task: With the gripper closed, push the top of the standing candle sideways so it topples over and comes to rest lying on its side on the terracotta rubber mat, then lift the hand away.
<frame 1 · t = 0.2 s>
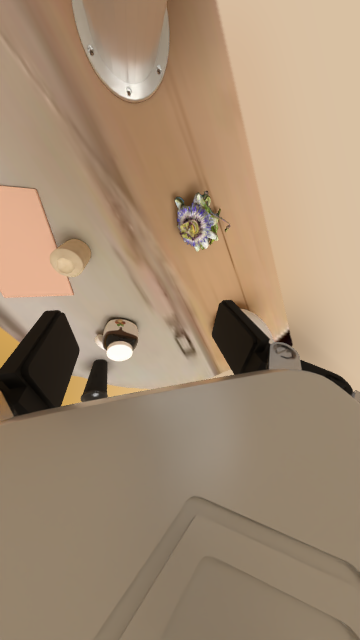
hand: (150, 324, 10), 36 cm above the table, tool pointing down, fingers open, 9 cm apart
passion flower: (195, 219, 39), on the table
drinking cup: (100, 363, 61), on the table
candle: (78, 251, 38), on the table
spread jar: (117, 329, 54), on the table
mat: (19, 250, 35), on the table
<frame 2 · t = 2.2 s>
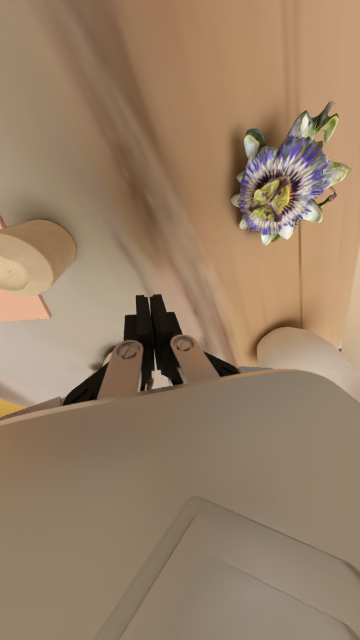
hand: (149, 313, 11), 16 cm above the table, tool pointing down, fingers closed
passion flower: (261, 188, 22), on the table
candle: (52, 243, 21), on the table
pitcher: (272, 347, 49), on the table
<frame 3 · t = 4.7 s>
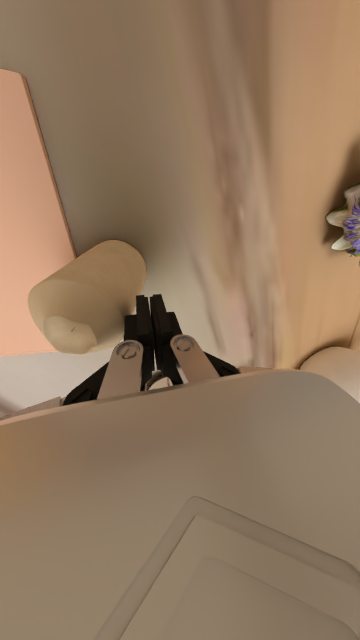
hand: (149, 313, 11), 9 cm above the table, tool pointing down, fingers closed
candle: (120, 267, 17), on the table
pitcher: (313, 367, 45), on the table
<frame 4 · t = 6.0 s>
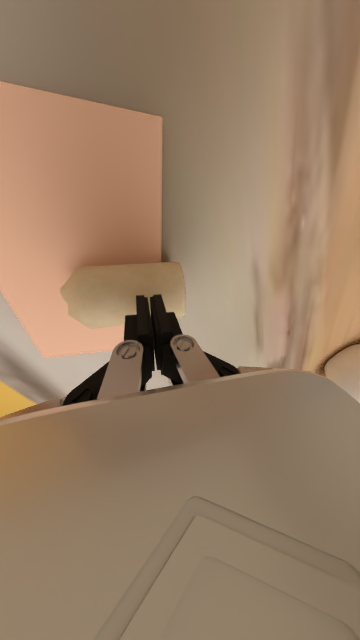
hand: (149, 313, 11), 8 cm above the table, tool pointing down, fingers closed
candle: (181, 290, 16), point 3 cm above the table, touching mat
mat: (86, 271, 16), on the table
pitcher: (337, 364, 47), on the table
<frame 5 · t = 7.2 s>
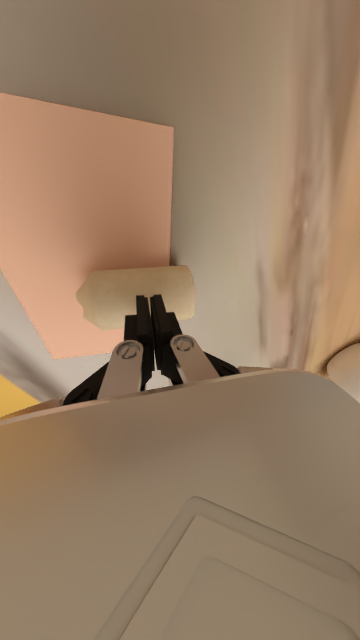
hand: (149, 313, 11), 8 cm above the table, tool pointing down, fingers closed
candle: (189, 292, 17), point 3 cm above the table, touching mat
mat: (97, 274, 17), on the table
pitcher: (339, 363, 47), on the table
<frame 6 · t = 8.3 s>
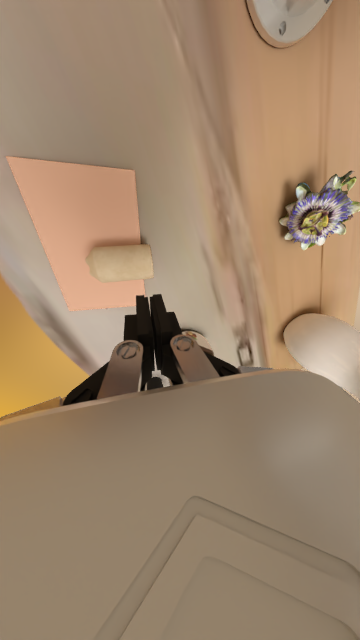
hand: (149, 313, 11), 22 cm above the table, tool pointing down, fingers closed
passion flower: (299, 212, 33), on the table
drinking cup: (154, 381, 53), on the table
candle: (152, 261, 28), point 3 cm above the table, touching mat
spread jar: (180, 342, 46), on the table
mat: (97, 251, 28), on the table
pitcher: (295, 333, 58), on the table
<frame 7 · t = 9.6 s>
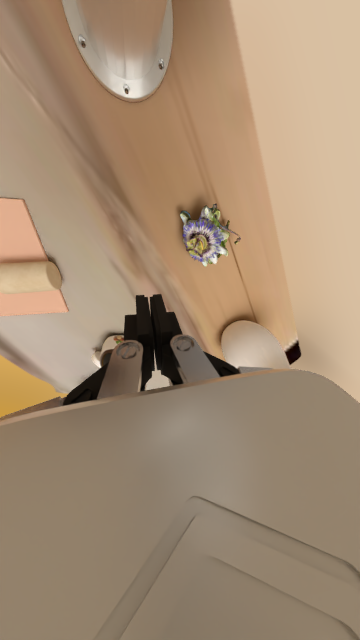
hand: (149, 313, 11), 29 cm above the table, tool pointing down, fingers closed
passion flower: (202, 232, 36), on the table
candle: (55, 275, 31), point 3 cm above the table, touching mat
spread jar: (116, 345, 50), on the table
mat: (6, 266, 31), on the table
pitcher: (235, 337, 62), on the table
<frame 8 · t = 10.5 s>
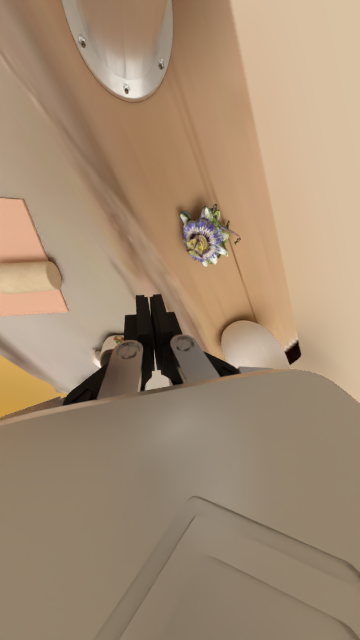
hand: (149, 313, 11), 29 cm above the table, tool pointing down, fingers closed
passion flower: (202, 232, 37), on the table
candle: (55, 275, 31), point 3 cm above the table, touching mat
spread jar: (116, 345, 50), on the table
mat: (6, 266, 31), on the table
pitcher: (235, 337, 62), on the table
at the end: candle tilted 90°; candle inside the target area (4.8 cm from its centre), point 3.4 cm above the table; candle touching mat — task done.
